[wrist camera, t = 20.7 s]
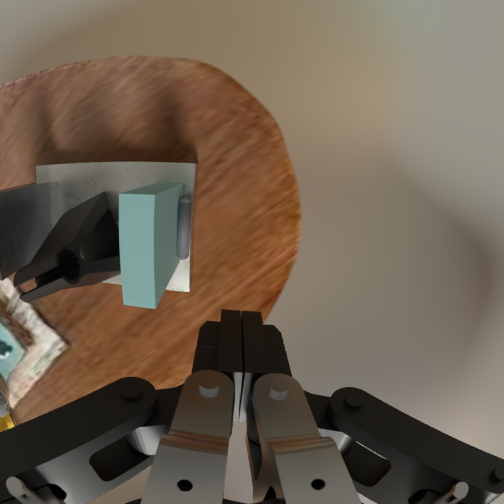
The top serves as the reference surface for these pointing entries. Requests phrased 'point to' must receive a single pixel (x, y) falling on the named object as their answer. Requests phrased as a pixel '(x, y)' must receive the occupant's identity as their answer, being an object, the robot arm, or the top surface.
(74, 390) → the top surface
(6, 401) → the alarm clock
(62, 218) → the phone stand
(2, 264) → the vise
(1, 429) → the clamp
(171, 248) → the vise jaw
